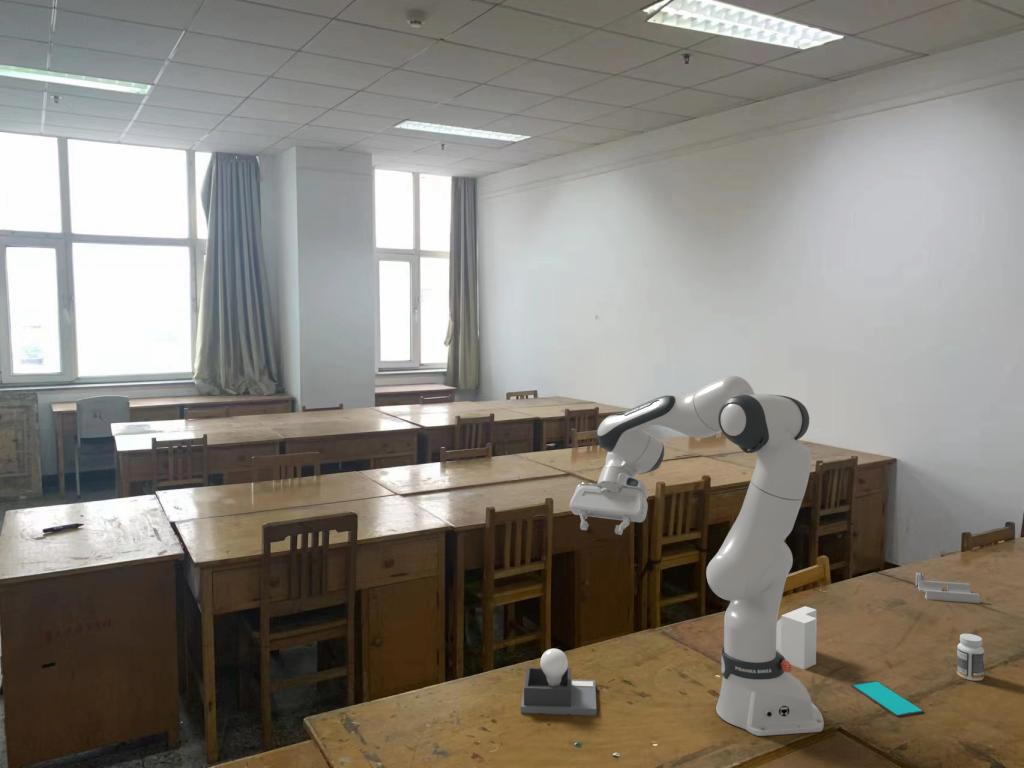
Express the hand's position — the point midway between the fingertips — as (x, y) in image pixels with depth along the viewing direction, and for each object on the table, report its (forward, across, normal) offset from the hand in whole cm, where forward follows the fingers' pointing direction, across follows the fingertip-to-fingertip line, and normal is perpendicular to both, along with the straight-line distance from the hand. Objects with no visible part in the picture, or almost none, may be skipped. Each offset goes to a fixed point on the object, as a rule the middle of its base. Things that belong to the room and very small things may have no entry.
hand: (600, 531), depth 188 cm
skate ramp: (-46, +79, +96) cm, 132 cm away
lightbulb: (+40, -3, +8) cm, 41 cm away
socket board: (+39, -2, +11) cm, 41 cm away
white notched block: (+4, +43, +46) cm, 63 cm away
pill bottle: (-1, +82, +51) cm, 97 cm away
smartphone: (+15, +65, +36) cm, 76 cm away
